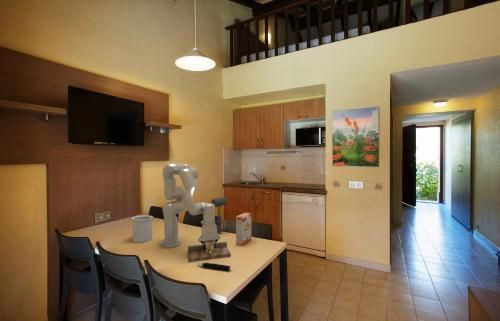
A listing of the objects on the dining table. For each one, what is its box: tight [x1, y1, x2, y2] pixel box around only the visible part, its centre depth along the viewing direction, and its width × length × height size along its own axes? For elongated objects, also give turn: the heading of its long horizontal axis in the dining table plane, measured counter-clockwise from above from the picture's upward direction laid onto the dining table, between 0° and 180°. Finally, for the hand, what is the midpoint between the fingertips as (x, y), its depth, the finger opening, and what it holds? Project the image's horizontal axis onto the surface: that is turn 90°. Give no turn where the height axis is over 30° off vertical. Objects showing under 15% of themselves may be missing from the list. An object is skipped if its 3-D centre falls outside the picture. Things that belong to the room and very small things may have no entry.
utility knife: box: [196, 262, 231, 272], centre depth 134 cm, size 22×4×3 cm, turn 73°
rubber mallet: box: [210, 196, 228, 234], centre depth 198 cm, size 12×8×30 cm, turn 136°
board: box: [187, 241, 232, 263], centre depth 153 cm, size 26×14×5 cm, turn 107°
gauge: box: [205, 240, 214, 254], centre depth 152 cm, size 5×11×7 cm, turn 16°
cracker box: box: [235, 212, 252, 246], centre depth 175 cm, size 14×6×21 cm, turn 153°
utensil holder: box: [131, 215, 154, 244], centre depth 184 cm, size 15×15×18 cm
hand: (209, 249), depth 154 cm, fingers closed on gauge, 5 cm apart
